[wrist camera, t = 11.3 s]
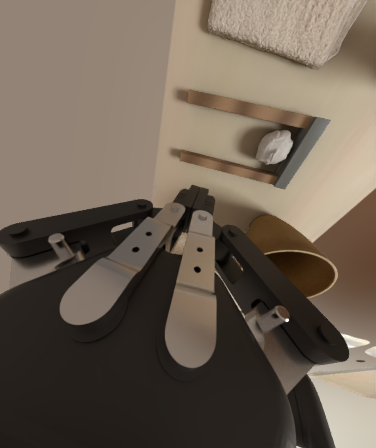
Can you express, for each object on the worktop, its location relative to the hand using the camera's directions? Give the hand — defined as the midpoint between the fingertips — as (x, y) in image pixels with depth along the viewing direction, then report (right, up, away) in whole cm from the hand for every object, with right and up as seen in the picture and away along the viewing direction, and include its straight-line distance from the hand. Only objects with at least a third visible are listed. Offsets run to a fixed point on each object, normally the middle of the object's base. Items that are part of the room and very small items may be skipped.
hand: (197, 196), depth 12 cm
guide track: (+9, +14, +15) cm, 23 cm away
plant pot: (+20, -3, +25) cm, 32 cm away
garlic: (+15, +13, +15) cm, 25 cm away
